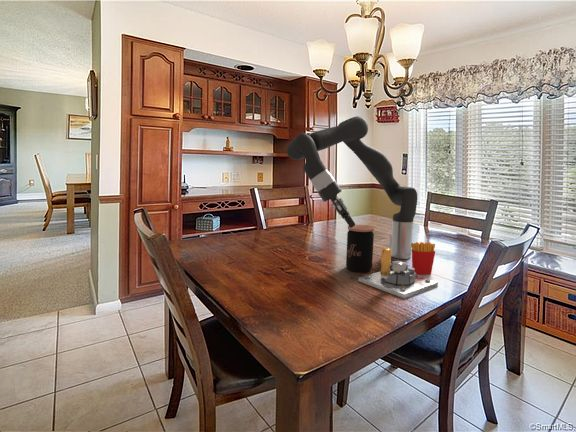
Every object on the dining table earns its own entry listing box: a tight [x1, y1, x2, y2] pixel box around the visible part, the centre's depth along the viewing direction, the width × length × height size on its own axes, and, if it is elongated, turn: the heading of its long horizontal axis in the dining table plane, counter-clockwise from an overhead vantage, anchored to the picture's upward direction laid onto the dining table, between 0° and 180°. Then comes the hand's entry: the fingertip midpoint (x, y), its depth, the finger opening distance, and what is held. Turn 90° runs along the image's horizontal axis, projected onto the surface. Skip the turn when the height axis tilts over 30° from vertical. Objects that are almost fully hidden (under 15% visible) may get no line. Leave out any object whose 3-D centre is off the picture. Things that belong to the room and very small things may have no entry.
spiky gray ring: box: [379, 247, 417, 285], centre depth 124 cm, size 17×11×13 cm, turn 136°
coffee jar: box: [345, 224, 375, 274], centre depth 143 cm, size 11×11×18 cm
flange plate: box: [358, 260, 439, 299], centre depth 127 cm, size 20×20×8 cm
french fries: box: [411, 241, 436, 276], centre depth 139 cm, size 9×4×13 cm, turn 86°
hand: (353, 226), depth 121 cm, fingers closed
